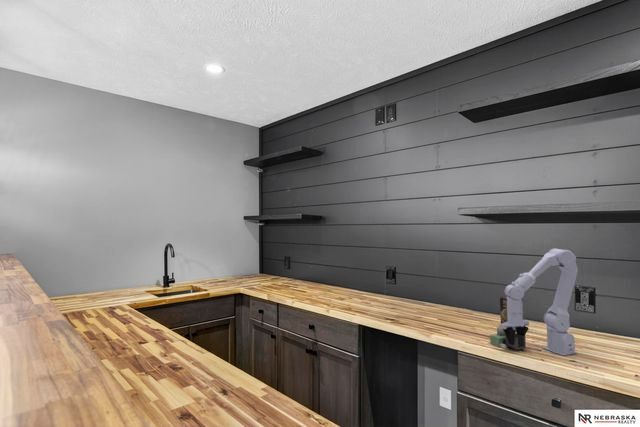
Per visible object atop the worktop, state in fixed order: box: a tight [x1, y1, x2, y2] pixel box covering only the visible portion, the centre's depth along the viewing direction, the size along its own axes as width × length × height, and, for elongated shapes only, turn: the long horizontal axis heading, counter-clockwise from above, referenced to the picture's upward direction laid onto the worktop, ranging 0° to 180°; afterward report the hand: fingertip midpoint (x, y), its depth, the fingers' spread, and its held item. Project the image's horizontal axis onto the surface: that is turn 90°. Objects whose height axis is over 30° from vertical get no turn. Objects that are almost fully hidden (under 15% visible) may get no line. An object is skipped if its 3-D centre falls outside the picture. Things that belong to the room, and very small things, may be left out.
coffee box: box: [499, 296, 524, 330], centre depth 180 cm, size 9×6×16 cm
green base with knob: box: [489, 326, 508, 350], centre depth 156 cm, size 8×10×7 cm
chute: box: [505, 332, 527, 351], centre depth 151 cm, size 6×5×5 cm
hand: (515, 343), depth 151 cm, fingers closed on chute, 5 cm apart
